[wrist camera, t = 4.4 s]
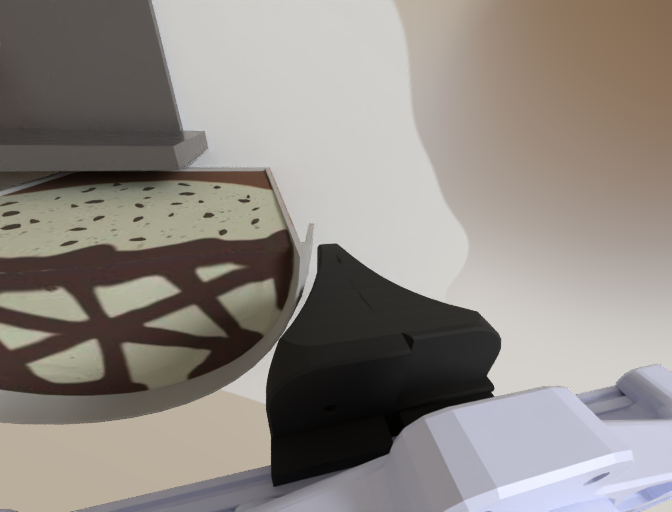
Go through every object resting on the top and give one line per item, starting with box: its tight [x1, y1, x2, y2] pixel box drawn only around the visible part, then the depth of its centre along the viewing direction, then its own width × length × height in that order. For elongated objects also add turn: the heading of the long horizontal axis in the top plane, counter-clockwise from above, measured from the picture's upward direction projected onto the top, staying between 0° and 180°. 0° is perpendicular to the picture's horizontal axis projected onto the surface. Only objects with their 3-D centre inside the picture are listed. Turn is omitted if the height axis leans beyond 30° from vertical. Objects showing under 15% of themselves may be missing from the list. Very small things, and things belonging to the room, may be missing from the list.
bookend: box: [0, 0, 208, 172], centre depth 9 cm, size 6×10×5 cm, turn 88°
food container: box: [0, 168, 314, 424], centre depth 11 cm, size 12×6×10 cm, turn 87°
